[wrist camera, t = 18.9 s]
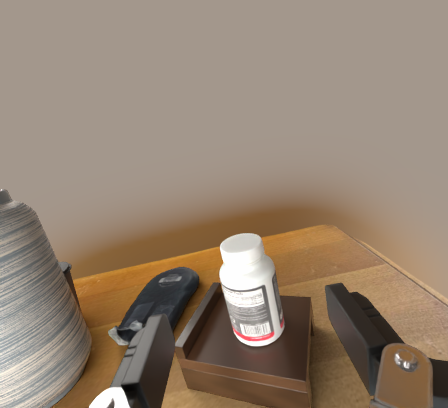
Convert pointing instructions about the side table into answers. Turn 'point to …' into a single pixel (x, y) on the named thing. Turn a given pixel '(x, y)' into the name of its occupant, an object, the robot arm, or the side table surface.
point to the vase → (35, 315)
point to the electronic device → (158, 302)
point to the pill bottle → (251, 290)
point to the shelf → (248, 355)
